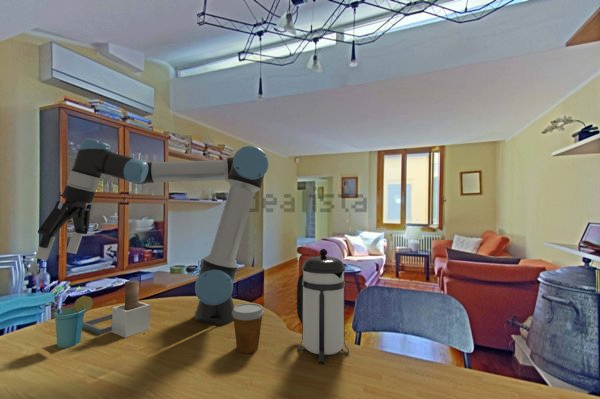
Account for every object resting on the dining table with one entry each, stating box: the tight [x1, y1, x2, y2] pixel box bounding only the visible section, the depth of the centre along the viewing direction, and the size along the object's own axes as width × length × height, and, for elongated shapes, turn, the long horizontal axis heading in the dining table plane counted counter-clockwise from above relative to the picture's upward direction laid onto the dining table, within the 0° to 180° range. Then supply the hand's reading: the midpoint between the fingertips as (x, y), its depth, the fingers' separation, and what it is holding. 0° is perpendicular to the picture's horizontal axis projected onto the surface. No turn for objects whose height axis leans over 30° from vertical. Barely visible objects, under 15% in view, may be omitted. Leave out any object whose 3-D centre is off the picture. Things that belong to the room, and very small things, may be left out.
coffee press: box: [296, 248, 350, 365], centre depth 86 cm, size 17×16×30 cm
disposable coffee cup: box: [232, 302, 265, 354], centre depth 87 cm, size 10×10×12 cm
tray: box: [82, 313, 112, 336], centre depth 101 cm, size 12×12×2 cm
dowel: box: [124, 279, 140, 311], centre depth 97 cm, size 4×4×16 cm
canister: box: [111, 301, 151, 338], centre depth 96 cm, size 8×8×9 cm
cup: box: [38, 295, 95, 349], centre depth 86 cm, size 14×8×15 cm, turn 161°
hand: (57, 255), depth 87 cm, fingers open, 13 cm apart
